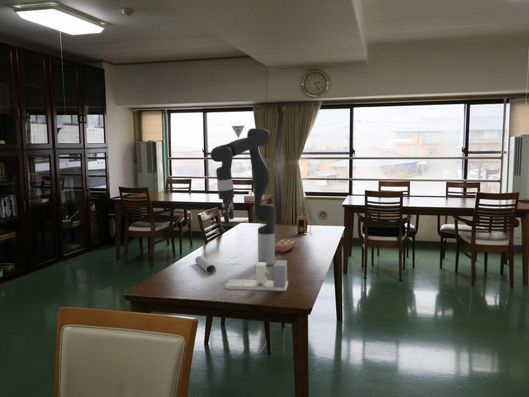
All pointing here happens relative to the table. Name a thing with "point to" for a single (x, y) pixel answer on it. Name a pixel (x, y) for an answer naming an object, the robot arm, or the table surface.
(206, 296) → the table surface
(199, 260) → the tube
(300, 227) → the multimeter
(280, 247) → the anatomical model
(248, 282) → the base
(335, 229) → the table surface
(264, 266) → the block
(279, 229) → the table surface
